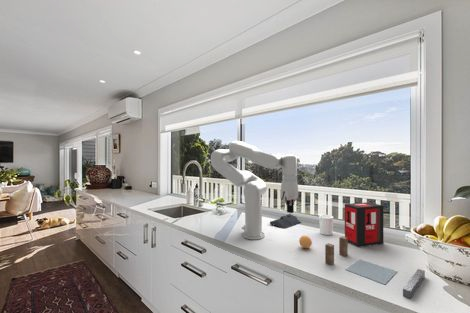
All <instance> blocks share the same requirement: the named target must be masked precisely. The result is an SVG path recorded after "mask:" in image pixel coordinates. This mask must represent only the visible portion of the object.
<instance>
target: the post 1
mask: <svg viewBox="0 0 470 313" xmlns="http://www.w3.org/2000/svg"><path fill="white" fill-rule="evenodd" d="M324 246H325V247H324V248H325V249H324V252H325V254H324V256H325V258H324V259H325V260H324V261H325V264H326V265H329V266H333V265H334V264H335V244H333V243H326V244H325V245H324Z"/></svg>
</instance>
